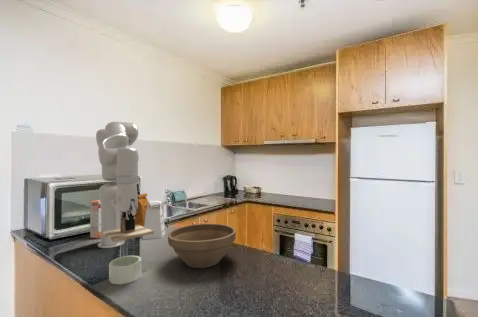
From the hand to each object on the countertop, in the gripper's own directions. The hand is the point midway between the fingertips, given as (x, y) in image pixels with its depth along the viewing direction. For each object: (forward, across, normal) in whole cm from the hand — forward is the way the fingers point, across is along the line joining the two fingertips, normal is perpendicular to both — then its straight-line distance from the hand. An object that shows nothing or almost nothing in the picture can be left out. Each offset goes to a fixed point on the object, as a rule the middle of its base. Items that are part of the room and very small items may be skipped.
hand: (127, 228), depth 95 cm
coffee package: (+17, -65, +33) cm, 75 cm away
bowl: (+18, +1, -1) cm, 18 cm away
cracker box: (+17, -65, +10) cm, 68 cm away
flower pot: (+18, +9, +28) cm, 34 cm away
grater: (+18, -42, +30) cm, 55 cm away
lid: (+2, 0, 0) cm, 2 cm away
